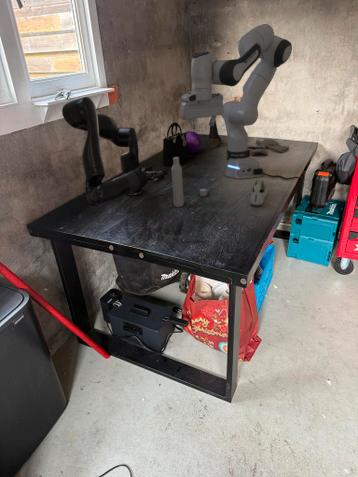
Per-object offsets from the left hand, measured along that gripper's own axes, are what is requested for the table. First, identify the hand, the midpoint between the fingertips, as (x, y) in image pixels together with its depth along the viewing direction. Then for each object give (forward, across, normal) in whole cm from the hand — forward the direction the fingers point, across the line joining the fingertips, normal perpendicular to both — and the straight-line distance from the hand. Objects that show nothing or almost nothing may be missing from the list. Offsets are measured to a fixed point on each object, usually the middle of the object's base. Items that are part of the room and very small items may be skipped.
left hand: (159, 169), depth 140 cm
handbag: (+64, +43, +21) cm, 80 cm away
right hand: (+28, -3, -12) cm, 31 cm away
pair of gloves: (+114, +7, +21) cm, 116 cm away
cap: (+28, -3, +18) cm, 34 cm away
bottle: (+12, 0, +21) cm, 24 cm away
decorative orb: (+86, +48, +21) cm, 100 cm away
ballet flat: (+39, -28, +21) cm, 52 cm away
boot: (+113, +44, +21) cm, 124 cm away
